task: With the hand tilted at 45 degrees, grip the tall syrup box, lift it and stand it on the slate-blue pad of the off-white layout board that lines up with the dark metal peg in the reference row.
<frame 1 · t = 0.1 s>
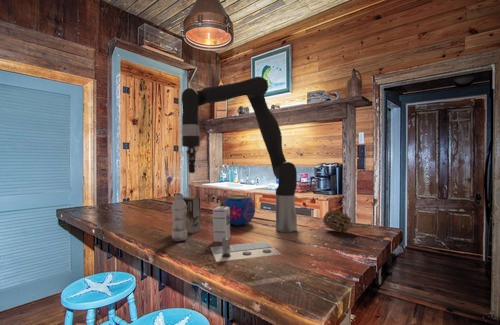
hand: (191, 172, 114), 29 cm above the counter, tool pointing down, fingers open, 8 cm apart
syrup box: (222, 242, 109), on the counter
layout board: (244, 253, 96), on the counter
ceramic pot: (238, 224, 139), on the counter
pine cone: (346, 233, 121), on the counter
plastic bottle: (179, 241, 111), on the counter
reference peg: (226, 256, 90), resting on layout board
coffee box: (189, 231, 127), on the counter
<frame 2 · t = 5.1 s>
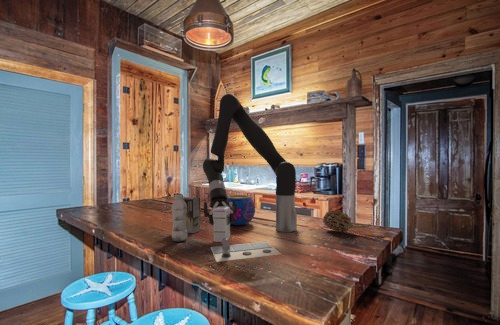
hand: (222, 223, 107), 8 cm above the counter, tool tilted 45°, fingers closed on syrup box, 7 cm apart
syrup box: (222, 242, 109), on the counter, touching gripper
everything else where it was.
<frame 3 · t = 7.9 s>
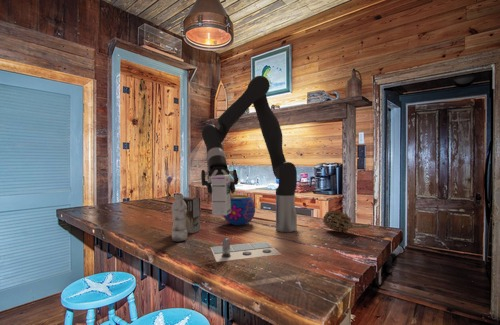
hand: (222, 192, 96), 22 cm above the counter, tool tilted 45°, fingers closed on syrup box, 7 cm apart
syrup box: (221, 214, 97), point 14 cm above the counter, touching gripper
everything else where it was.
when the fingers open (10 cm above the counter, at t = 10.9 s): syrup box stays where it is, resting on layout board.
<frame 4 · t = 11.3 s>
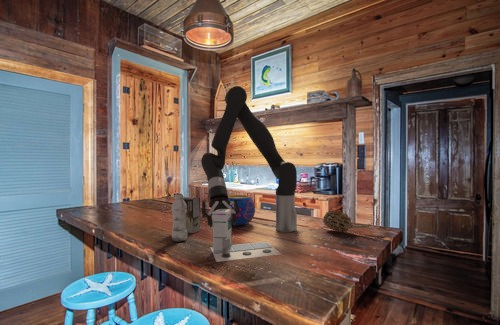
hand: (223, 225, 95), 10 cm above the counter, tool tilted 45°, fingers open, 8 cm apart
syrup box: (222, 249, 97), point 1 cm above the counter, touching layout board
everything else where it was.
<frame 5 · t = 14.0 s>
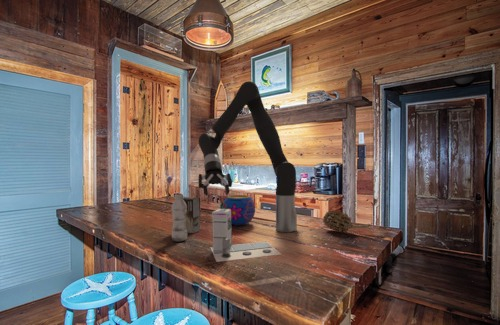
hand: (217, 194, 108), 20 cm above the counter, tool tilted 45°, fingers open, 8 cm apart
nothing on the counter moved.
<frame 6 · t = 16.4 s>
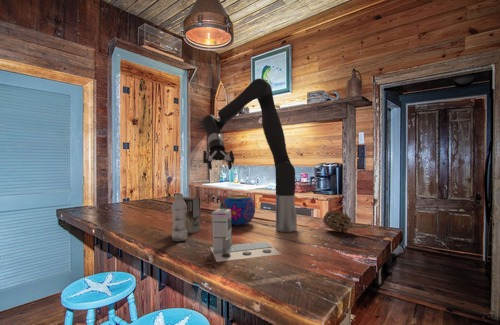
hand: (220, 168, 116), 31 cm above the counter, tool tilted 45°, fingers open, 8 cm apart
nothing on the counter moved.
at the end: syrup box 0.2 cm from the target spot on the layout board, point 1.0 cm above the layout board's base; syrup box tilted 0°; the gripper is holding nothing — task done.
